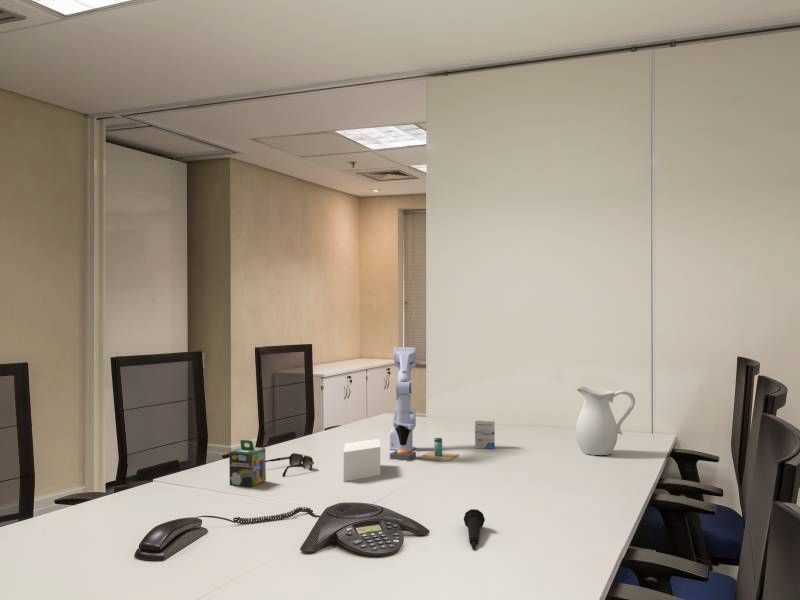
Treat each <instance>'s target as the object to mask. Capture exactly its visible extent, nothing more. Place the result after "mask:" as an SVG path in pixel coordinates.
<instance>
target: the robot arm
mask: <svg viewBox="0 0 800 600" xmlns="http://www.w3.org/2000/svg"><path fill="white" fill-rule="evenodd" d="M393 360H394V366H395V367H396V368H398V369H399V370H398V372H397V375H396V377H397V378H396V382H395V400H396V407H395V408H394V410H393V414H392V426H393V427H392V428H391V429H390V433H389V448H388V450H394V451H397V449H409V451H412V450H413V451H414V449H417V447H416V446H413V445H414V444H413V438H414V437H413V432H414V431H413V430H415V427H416V426H417V425H416V422H417V421H416V419H417V416H416V415H417V414H416V410H415V408H414V407H413V406H411V403H412V402H411V401H412V400H411V399H412V398H411V397H412V392H413V389H412V388H413V385H412V372H411V371H412V369H413V368H415V367H416V365H417V348H416V347H415V346H414V347H410V346H409V347H407V346H405V347H403V346H402V347H399V346H398V347H397V346H395V347H394V349H393Z"/></svg>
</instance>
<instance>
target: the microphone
mask: <svg viewBox="0 0 800 600" xmlns="http://www.w3.org/2000/svg"><path fill="white" fill-rule="evenodd" d="M485 521H486V518H485V515H484V513H483V512H482V511H480V510H479V509H476V508H475V509H474V508H471V509H469V510H467V511H466V512H465V513H464V516H463V522H464V525H465V527H467V531H468V540H469V544H470V546H471V549H472V551H475V550H476V548H477V546H478V544H479V541H480V532H481V528H483V527H484V523H485Z"/></svg>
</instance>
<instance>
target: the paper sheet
mask: <svg viewBox="0 0 800 600" xmlns="http://www.w3.org/2000/svg"><path fill="white" fill-rule="evenodd" d="M458 455H459V456H460V454H459V453H450V452H449V453H448V452H442V456H439V457H437V456H435V454H434V451H428V452H426V453H424V454H422V455H419V456H417V459H420V458H424V459H423V460H430V459H433V460H432V461H439V460H443V461H442V462H450V461H452V460H453V459H455V458H457V457H458ZM456 456H457V457H456ZM451 459H452V460H451ZM449 460H450V461H449Z"/></svg>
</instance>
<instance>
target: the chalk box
mask: <svg viewBox="0 0 800 600" xmlns="http://www.w3.org/2000/svg"><path fill="white" fill-rule="evenodd" d="M239 443H240V447H238V448H235V449H233V450H230V451H229V459H228V461H229V467H228V469H229V485H230V486H239V487H240V486H241V487H246V488H253V487H255V486H257V485H259V484H261V483H264V482H265V481H267V477H266V474H267V472H266V471H267V470H266V463H267V462H265V461H266V447H255V446H254V443H253V440H249V439H240V441H239ZM245 444H248V445H249V446H245Z"/></svg>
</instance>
